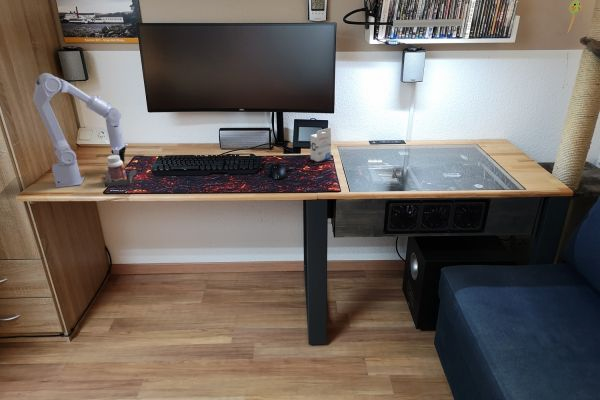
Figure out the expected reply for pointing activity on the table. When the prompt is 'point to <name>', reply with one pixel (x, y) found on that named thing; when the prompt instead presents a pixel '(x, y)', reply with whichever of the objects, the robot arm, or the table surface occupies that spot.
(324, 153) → the ink box
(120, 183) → the mount cradle
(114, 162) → the pill bottle
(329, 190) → the table surface
